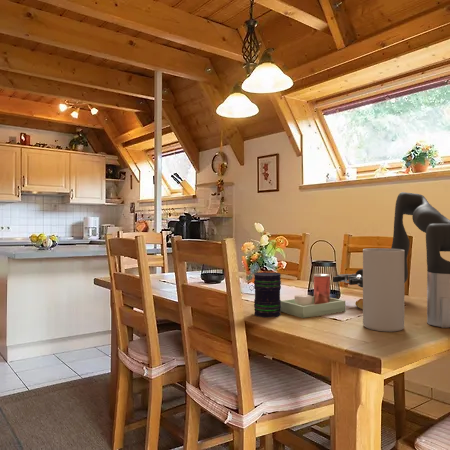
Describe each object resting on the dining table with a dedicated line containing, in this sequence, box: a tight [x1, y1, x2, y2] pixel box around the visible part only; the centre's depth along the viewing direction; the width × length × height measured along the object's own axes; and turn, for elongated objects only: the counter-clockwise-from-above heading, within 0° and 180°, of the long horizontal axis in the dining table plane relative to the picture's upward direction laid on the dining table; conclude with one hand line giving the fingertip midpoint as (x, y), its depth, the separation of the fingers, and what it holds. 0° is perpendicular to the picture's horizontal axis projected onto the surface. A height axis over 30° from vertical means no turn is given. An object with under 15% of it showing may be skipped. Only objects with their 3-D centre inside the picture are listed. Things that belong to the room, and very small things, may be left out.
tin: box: [313, 273, 331, 304], centre depth 165 cm, size 6×6×12 cm
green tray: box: [280, 296, 346, 319], centre depth 163 cm, size 21×13×4 cm, turn 121°
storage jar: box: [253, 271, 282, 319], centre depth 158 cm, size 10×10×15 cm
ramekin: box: [293, 294, 313, 306], centre depth 161 cm, size 6×6×4 cm
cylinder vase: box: [362, 247, 405, 333], centre depth 139 cm, size 12×12×25 cm
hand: (341, 280), depth 171 cm, fingers open, 8 cm apart
